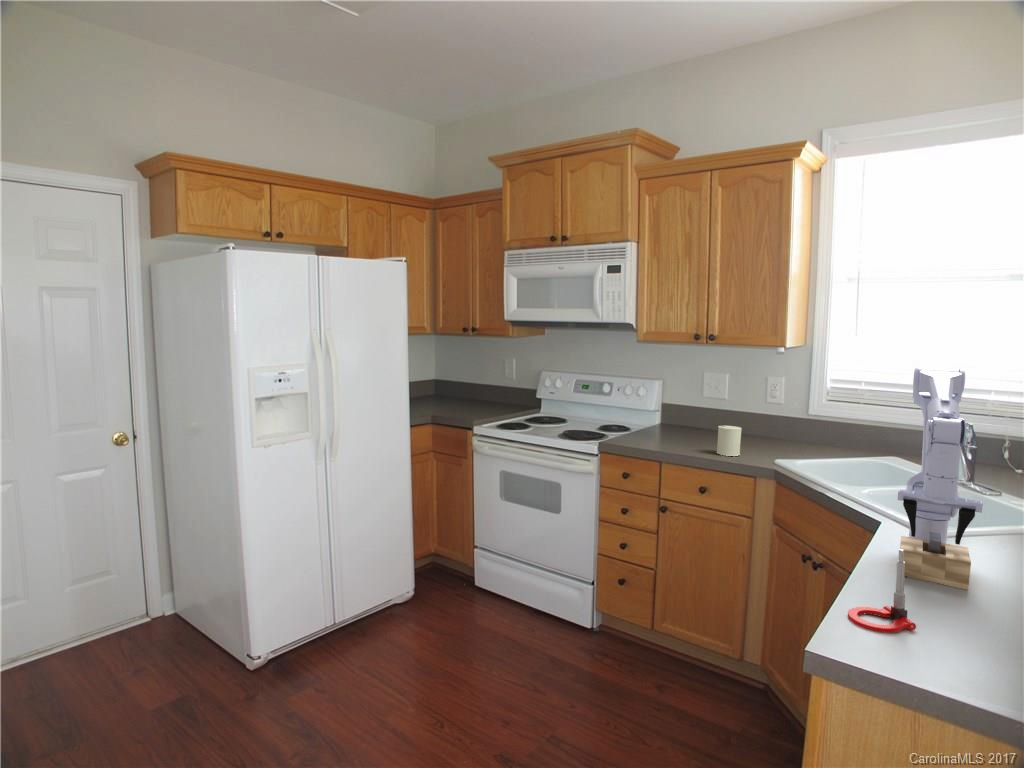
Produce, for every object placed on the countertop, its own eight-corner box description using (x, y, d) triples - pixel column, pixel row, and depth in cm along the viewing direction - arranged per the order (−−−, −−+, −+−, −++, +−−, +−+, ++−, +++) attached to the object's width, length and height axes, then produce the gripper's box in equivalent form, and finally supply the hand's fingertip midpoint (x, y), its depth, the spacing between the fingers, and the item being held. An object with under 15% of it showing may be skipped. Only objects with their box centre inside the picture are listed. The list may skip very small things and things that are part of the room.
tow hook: (867, 636, 104) (920, 633, 105) (870, 560, 103) (923, 558, 104) (837, 613, 112) (886, 611, 113) (839, 543, 111) (889, 541, 112)
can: (722, 451, 264) (724, 423, 263) (743, 455, 258) (745, 426, 257) (712, 454, 257) (714, 425, 256) (733, 458, 251) (735, 428, 250)
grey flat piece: (926, 563, 135) (929, 531, 135) (937, 565, 134) (940, 533, 134) (926, 573, 130) (929, 540, 129) (938, 575, 128) (941, 542, 128)
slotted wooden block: (899, 559, 140) (901, 535, 139) (965, 572, 133) (967, 547, 133) (897, 574, 131) (899, 549, 130) (968, 589, 124) (971, 562, 124)
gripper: (899, 473, 131) (893, 536, 132) (986, 484, 123) (979, 552, 124) (900, 467, 137) (895, 528, 138) (983, 478, 129) (976, 542, 130)
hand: (934, 539), depth 131 cm, fingers open, 7 cm apart
